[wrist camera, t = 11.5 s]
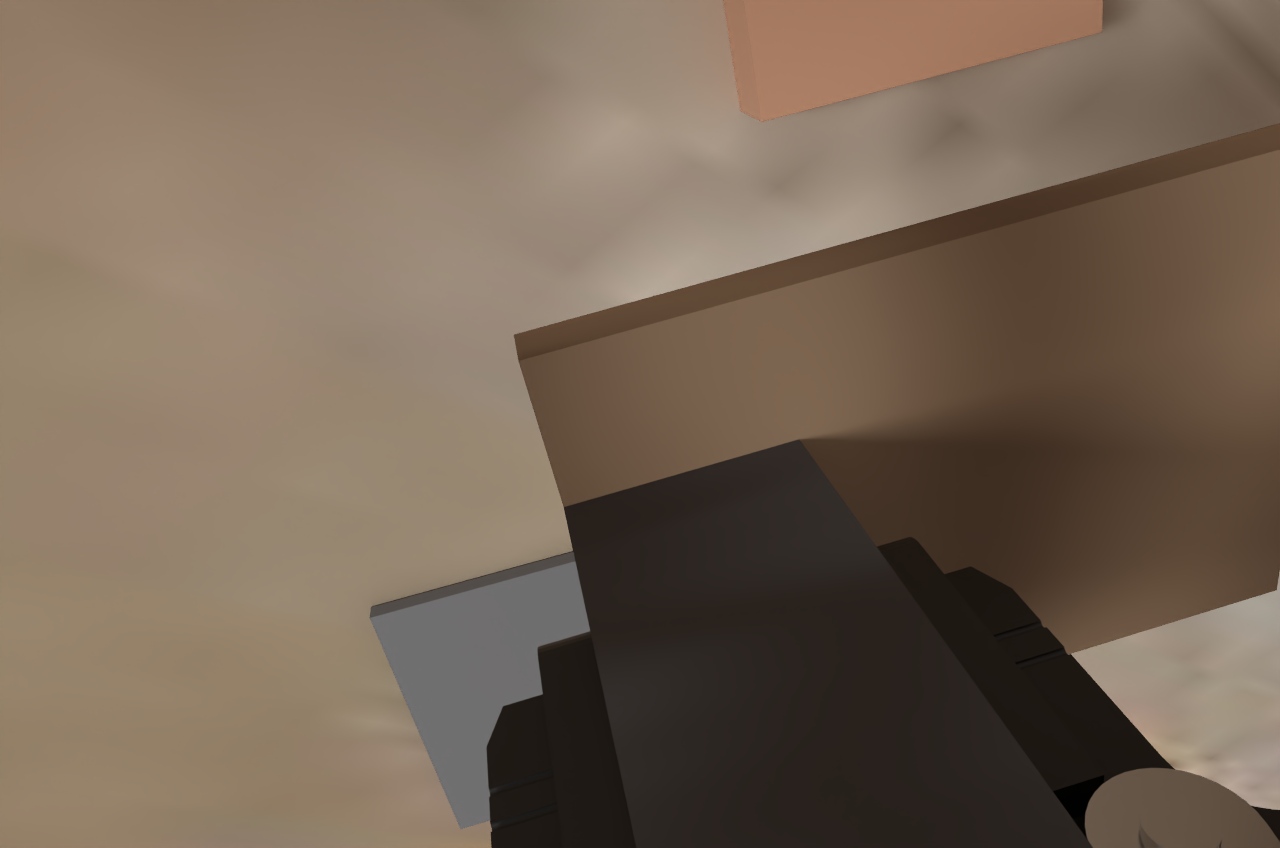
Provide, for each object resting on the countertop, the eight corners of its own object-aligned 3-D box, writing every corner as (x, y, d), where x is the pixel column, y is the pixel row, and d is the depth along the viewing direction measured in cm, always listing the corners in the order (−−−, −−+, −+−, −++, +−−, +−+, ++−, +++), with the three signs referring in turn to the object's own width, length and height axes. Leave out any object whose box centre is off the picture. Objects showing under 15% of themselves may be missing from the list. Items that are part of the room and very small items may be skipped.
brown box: (640, 743, 14) (776, 1301, 9) (514, 335, 11) (594, 784, 5) (1237, 559, 15) (1756, 961, 9) (1288, 120, 12) (2160, 302, 6)
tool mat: (460, 816, 38) (460, 828, 37) (370, 607, 33) (369, 618, 32) (972, 665, 40) (979, 675, 39) (965, 443, 34) (973, 451, 34)
